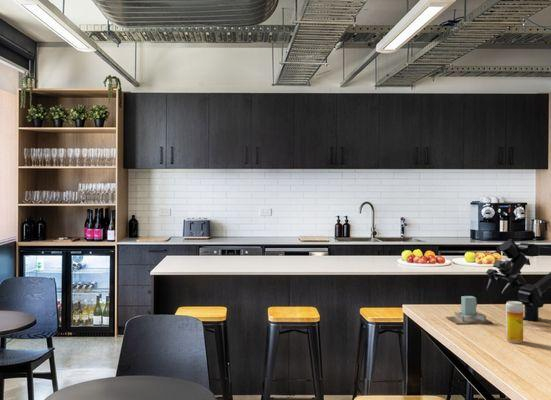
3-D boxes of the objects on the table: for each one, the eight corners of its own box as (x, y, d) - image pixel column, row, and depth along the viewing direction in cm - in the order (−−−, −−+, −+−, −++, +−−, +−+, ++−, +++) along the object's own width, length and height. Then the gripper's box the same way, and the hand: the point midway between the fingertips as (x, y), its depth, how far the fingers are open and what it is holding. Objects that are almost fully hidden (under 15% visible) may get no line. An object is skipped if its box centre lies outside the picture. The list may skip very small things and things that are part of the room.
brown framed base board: (479, 317, 241) (479, 310, 241) (492, 323, 229) (492, 316, 229) (445, 318, 239) (445, 311, 239) (457, 324, 227) (457, 317, 227)
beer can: (525, 344, 198) (525, 304, 197) (507, 343, 199) (507, 303, 199) (520, 339, 203) (520, 301, 203) (504, 339, 205) (504, 300, 205)
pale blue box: (474, 318, 236) (474, 296, 236) (478, 320, 232) (478, 297, 232) (461, 318, 236) (461, 296, 236) (465, 320, 232) (465, 298, 232)
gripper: (489, 251, 240) (469, 276, 236) (520, 255, 222) (499, 283, 219) (503, 267, 242) (483, 292, 239) (535, 273, 225) (514, 300, 221)
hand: (494, 292), depth 229 cm, fingers open, 9 cm apart
